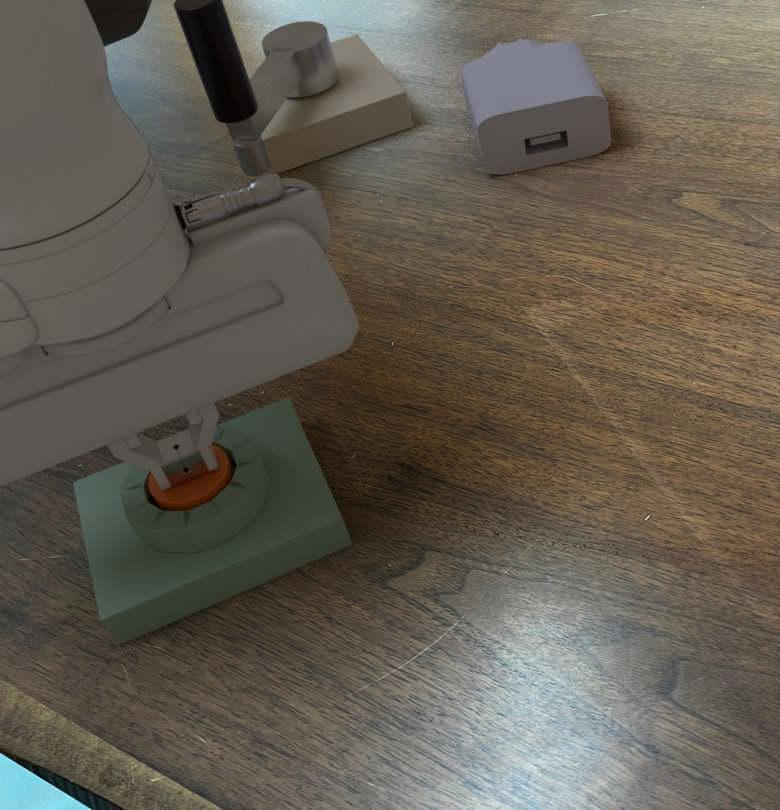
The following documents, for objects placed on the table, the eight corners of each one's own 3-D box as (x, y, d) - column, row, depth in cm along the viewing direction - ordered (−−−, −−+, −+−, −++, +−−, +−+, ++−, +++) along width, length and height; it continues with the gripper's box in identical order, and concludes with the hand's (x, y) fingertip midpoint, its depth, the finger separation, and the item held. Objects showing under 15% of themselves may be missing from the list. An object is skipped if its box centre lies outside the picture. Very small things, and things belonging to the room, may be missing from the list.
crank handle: (292, 75, 87) (243, -84, 78) (350, 74, 86) (307, -88, 77) (216, 180, 77) (150, 11, 68) (281, 181, 76) (222, 8, 67)
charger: (569, 59, 88) (612, 152, 78) (458, 82, 88) (486, 179, 77) (563, 3, 85) (607, 91, 74) (448, 26, 85) (475, 119, 74)
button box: (118, 646, 52) (83, 597, 49) (89, 508, 59) (57, 458, 56) (353, 544, 55) (332, 493, 52) (299, 423, 61) (279, 372, 59)
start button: (168, 537, 53) (155, 514, 52) (154, 484, 56) (141, 461, 55) (247, 505, 54) (236, 482, 53) (229, 454, 57) (218, 431, 56)
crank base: (265, 178, 81) (253, 143, 79) (229, 112, 89) (217, 78, 87) (414, 126, 84) (406, 91, 82) (365, 67, 92) (357, 33, 90)
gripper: (291, 129, 49) (365, 357, 58) (-187, 292, 44) (-22, 510, 54) (332, 194, 44) (405, 429, 54) (-194, 382, 40) (-13, 602, 49)
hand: (189, 471), depth 54 cm, fingers closed, pressing on start button
